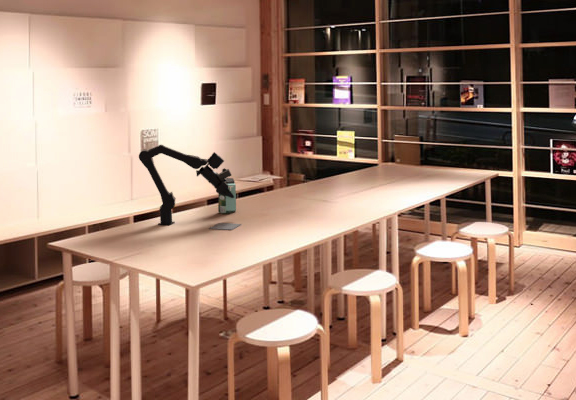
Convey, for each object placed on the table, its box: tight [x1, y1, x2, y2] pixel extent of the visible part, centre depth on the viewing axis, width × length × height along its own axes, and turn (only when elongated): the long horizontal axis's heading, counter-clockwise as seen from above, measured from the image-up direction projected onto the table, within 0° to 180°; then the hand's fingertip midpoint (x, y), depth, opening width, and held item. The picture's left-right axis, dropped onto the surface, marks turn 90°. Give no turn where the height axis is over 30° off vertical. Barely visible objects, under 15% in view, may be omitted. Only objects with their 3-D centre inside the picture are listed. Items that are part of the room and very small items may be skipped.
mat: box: [208, 222, 242, 231], centre depth 343 cm, size 12×12×1 cm
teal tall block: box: [226, 183, 237, 212], centre depth 355 cm, size 5×5×13 cm
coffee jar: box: [217, 177, 236, 215], centre depth 377 cm, size 10×8×19 cm
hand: (233, 196), depth 355 cm, fingers closed on teal tall block, 5 cm apart
